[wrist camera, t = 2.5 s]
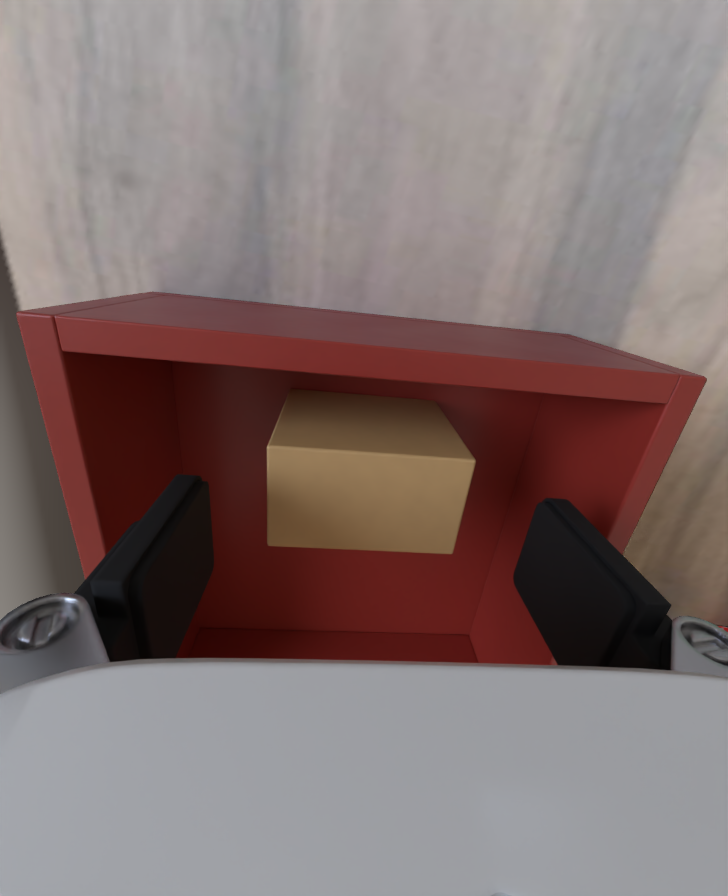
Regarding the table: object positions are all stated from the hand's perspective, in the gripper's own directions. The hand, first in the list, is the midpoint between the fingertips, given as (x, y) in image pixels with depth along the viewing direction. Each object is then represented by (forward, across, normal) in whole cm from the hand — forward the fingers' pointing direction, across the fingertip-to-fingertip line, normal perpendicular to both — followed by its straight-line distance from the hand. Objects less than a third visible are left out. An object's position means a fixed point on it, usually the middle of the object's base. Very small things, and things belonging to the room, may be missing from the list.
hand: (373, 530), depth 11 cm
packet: (+6, 0, 0) cm, 6 cm away
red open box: (+7, 0, +4) cm, 8 cm away
